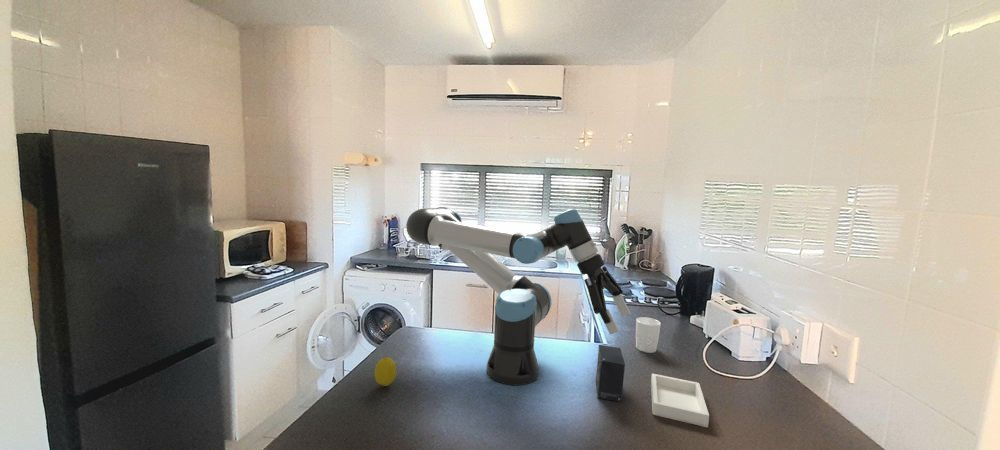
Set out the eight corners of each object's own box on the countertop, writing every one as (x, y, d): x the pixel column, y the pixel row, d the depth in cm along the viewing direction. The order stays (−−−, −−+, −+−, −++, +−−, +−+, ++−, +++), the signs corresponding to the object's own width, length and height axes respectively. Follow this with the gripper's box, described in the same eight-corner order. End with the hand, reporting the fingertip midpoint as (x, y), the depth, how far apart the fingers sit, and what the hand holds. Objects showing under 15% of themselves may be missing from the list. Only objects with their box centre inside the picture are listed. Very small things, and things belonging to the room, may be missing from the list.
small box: (623, 402, 95) (626, 363, 94) (597, 399, 96) (600, 360, 95) (618, 382, 105) (621, 346, 104) (595, 378, 107) (597, 343, 106)
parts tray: (652, 414, 91) (653, 402, 90) (650, 383, 105) (651, 373, 105) (707, 427, 86) (709, 415, 86) (698, 393, 101) (699, 382, 101)
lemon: (370, 386, 98) (370, 357, 97) (389, 378, 102) (389, 350, 101) (381, 394, 94) (381, 364, 93) (400, 386, 98) (400, 357, 97)
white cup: (661, 354, 125) (664, 325, 124) (638, 353, 125) (641, 324, 124) (652, 344, 133) (655, 317, 132) (630, 343, 133) (633, 316, 132)
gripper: (584, 263, 98) (621, 337, 96) (610, 244, 119) (641, 305, 117) (560, 273, 102) (596, 344, 100) (590, 253, 123) (620, 312, 121)
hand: (621, 323), depth 108 cm, fingers open, 13 cm apart
